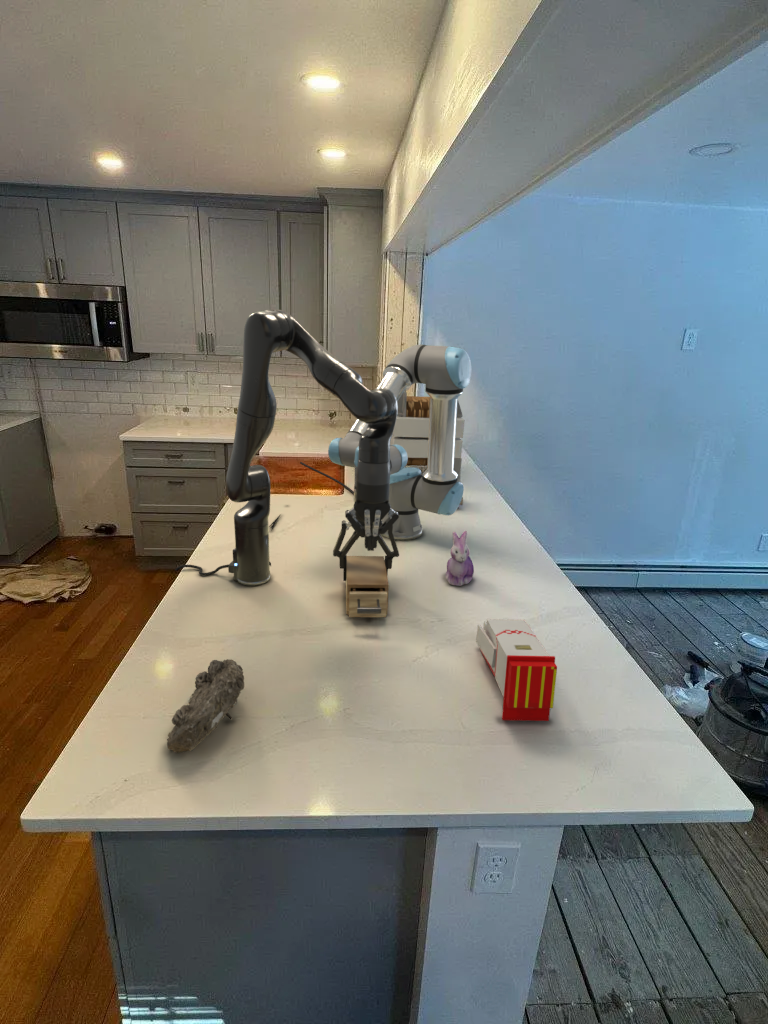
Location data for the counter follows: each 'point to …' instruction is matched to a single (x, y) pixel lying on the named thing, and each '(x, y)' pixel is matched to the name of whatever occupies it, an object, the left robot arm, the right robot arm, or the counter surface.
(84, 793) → the counter surface
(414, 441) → the white crate
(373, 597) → the drawer
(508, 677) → the toy
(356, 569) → the cabinet
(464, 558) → the figurine
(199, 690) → the fossil
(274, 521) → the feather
